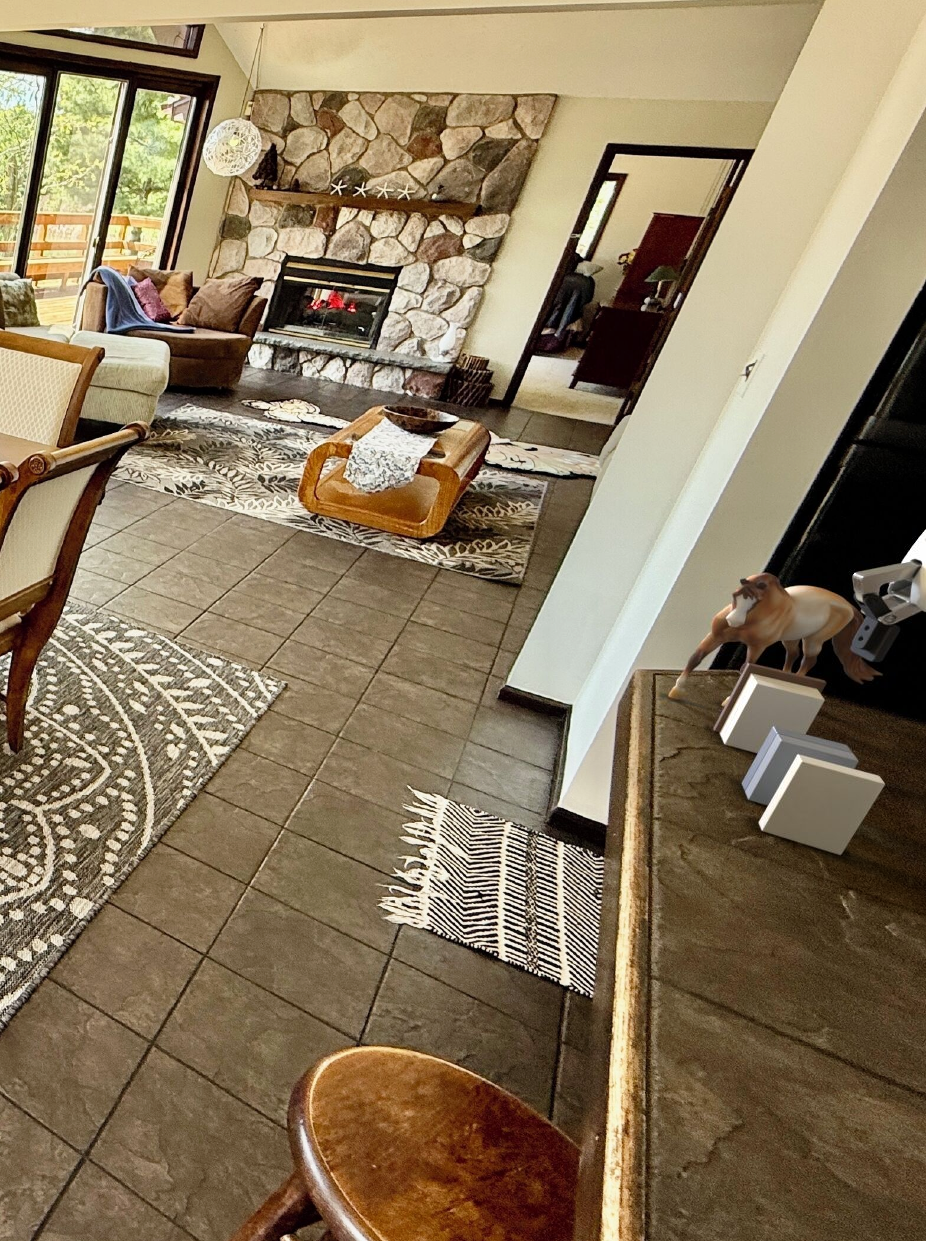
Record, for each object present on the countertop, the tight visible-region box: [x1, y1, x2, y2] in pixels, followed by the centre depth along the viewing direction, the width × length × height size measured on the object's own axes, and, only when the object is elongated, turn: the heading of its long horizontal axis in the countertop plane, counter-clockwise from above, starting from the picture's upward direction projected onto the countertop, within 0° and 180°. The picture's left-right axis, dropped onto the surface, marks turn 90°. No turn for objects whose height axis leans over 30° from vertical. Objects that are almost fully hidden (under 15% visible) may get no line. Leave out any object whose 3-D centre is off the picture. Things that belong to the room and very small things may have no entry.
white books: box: [713, 663, 827, 754], centre depth 112 cm, size 7×5×10 cm
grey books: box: [741, 726, 860, 806], centre depth 101 cm, size 6×4×8 cm
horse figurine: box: [668, 572, 883, 708], centre depth 123 cm, size 31×8×21 cm, turn 100°
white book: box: [758, 754, 886, 856], centre depth 94 cm, size 6×2×9 cm, turn 52°
